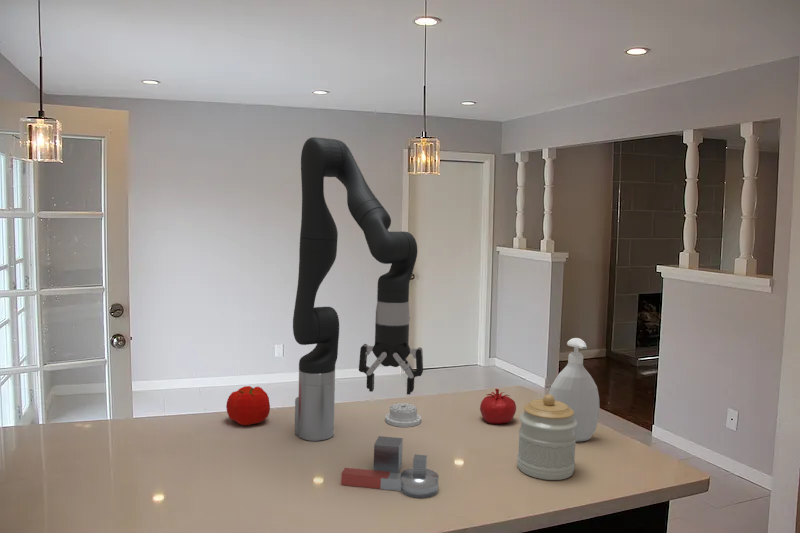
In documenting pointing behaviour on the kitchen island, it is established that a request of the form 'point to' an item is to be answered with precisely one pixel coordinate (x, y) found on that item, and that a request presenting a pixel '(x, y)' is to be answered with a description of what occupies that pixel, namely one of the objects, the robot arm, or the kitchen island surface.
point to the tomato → (248, 405)
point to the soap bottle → (578, 392)
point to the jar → (547, 439)
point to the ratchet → (396, 479)
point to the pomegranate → (497, 408)
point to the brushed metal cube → (388, 454)
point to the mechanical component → (403, 415)
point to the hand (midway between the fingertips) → (390, 392)
